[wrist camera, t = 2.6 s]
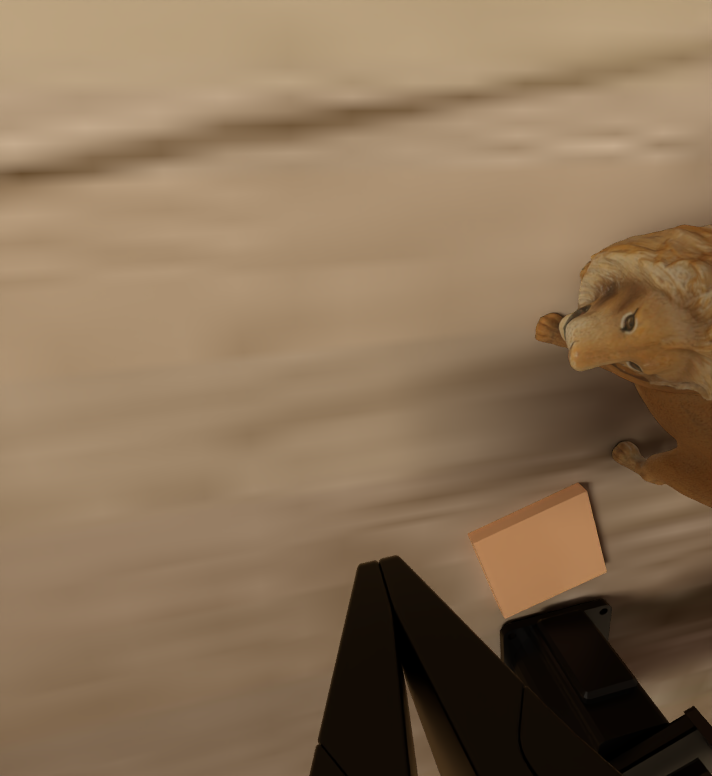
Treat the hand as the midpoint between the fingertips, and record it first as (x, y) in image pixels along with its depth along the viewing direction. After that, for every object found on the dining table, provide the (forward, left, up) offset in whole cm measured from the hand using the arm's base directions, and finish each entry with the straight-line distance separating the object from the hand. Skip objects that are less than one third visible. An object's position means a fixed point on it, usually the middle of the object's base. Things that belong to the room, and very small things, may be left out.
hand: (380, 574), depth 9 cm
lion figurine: (-1, -11, -10) cm, 15 cm away
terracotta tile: (-11, -9, -10) cm, 17 cm away
